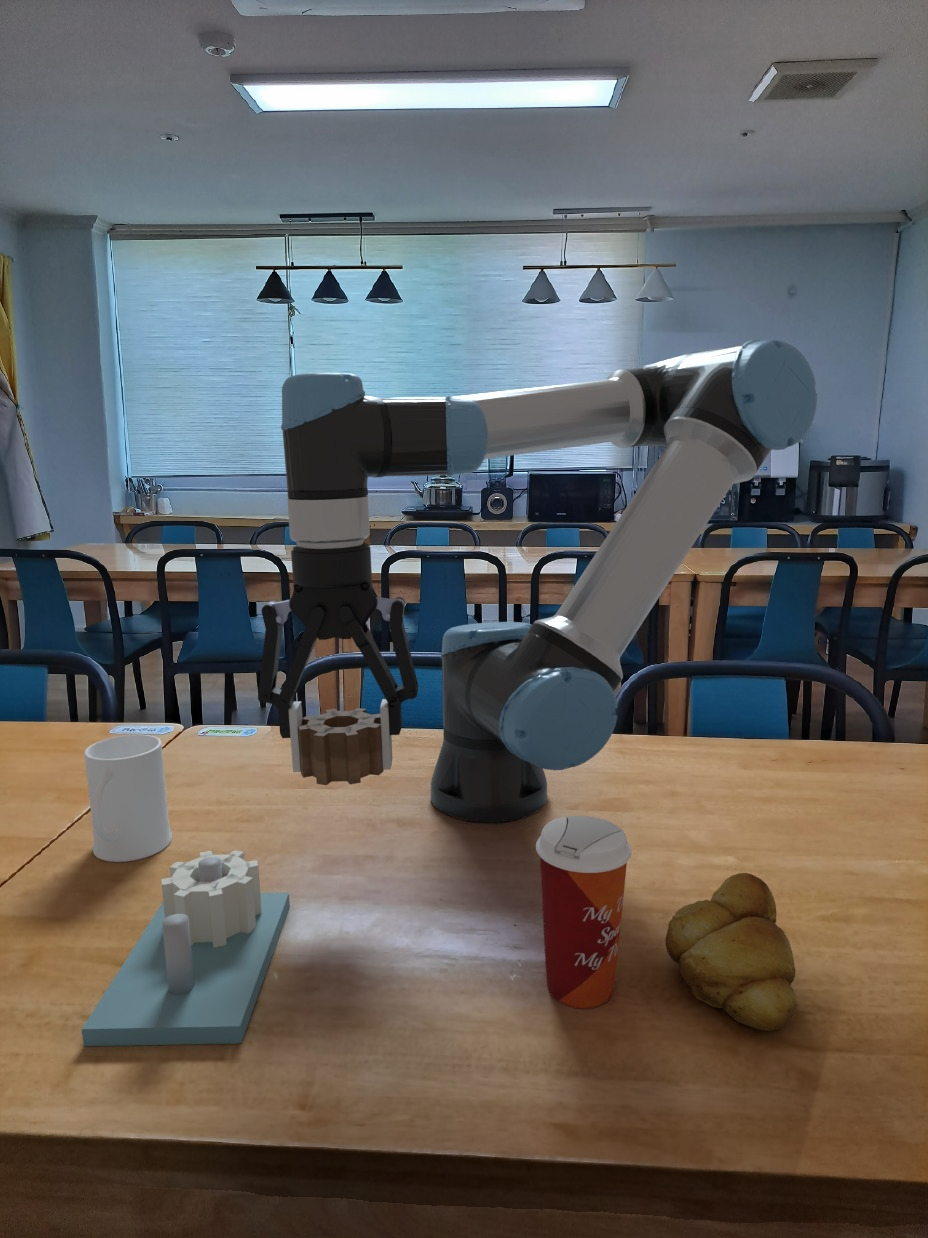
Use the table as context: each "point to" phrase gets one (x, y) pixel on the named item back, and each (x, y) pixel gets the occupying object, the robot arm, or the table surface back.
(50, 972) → the table surface
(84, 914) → the table surface
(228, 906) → the cream gear
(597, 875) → the paper cup
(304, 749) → the walnut gear
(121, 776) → the mug
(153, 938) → the gear board
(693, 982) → the bread roll
